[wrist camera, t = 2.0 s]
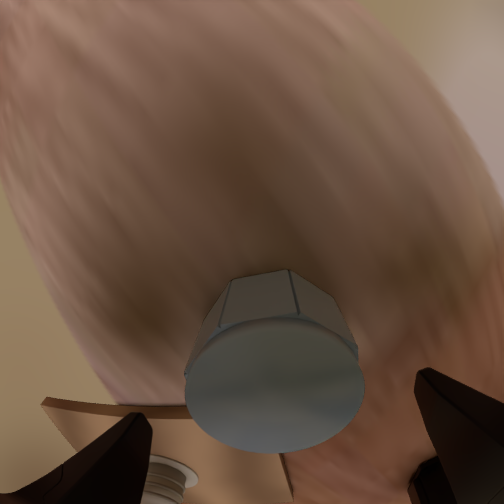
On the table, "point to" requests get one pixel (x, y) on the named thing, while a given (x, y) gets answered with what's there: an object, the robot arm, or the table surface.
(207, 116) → the table surface
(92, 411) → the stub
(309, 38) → the table surface
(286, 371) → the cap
